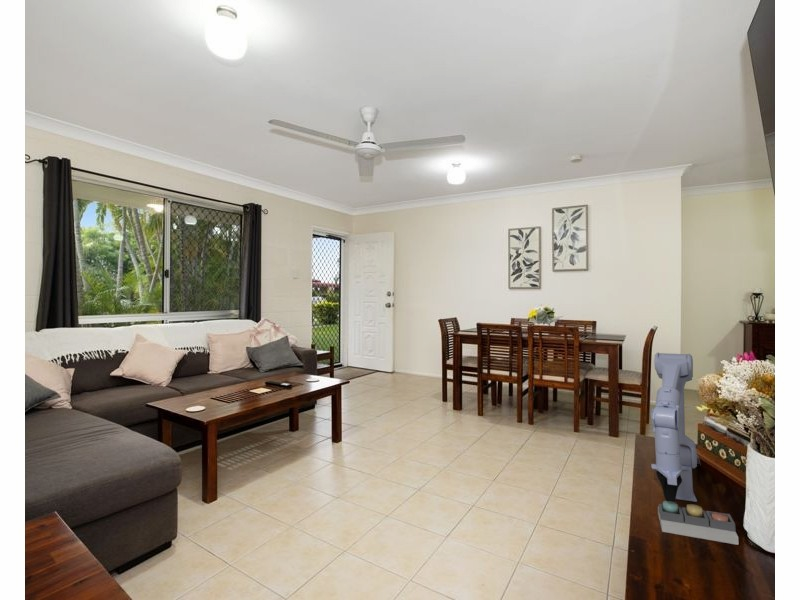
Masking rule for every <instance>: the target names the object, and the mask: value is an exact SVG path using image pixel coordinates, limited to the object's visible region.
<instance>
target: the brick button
mask: <svg viewBox="0 0 800 600" xmlns="http://www.w3.org/2000/svg"><path fill="white" fill-rule="evenodd" d="M713 512H714V513H712V519H713V520H719V521H726V522H728V516H727V515H725V514H726V513H725V514H722V512H718V511H713Z"/></svg>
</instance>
